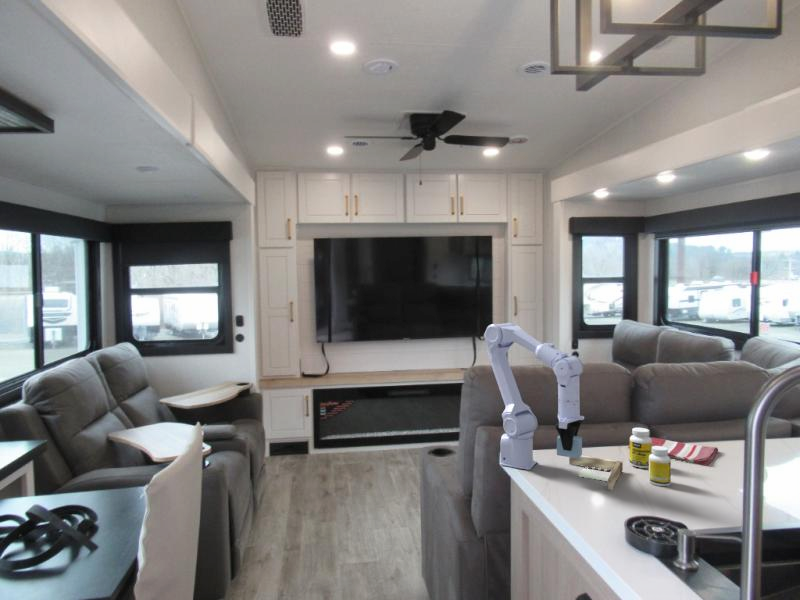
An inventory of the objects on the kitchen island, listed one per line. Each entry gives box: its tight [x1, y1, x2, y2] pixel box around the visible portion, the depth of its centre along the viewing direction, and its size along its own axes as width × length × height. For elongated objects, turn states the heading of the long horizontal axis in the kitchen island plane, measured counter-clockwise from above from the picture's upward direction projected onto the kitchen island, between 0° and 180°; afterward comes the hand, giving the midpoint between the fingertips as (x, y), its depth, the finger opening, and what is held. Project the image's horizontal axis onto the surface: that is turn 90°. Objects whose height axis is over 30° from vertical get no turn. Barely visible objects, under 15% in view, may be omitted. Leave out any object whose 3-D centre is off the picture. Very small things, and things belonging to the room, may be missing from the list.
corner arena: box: [568, 454, 624, 492], centre depth 146 cm, size 15×16×3 cm
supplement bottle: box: [648, 446, 672, 487], centre depth 141 cm, size 5×5×10 cm
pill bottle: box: [629, 427, 652, 469], centre depth 154 cm, size 6×6×11 cm
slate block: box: [556, 434, 583, 459], centre depth 143 cm, size 6×4×5 cm, turn 59°
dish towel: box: [627, 436, 719, 467], centre depth 166 cm, size 17×23×3 cm
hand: (569, 447), depth 143 cm, fingers closed on slate block, 4 cm apart
